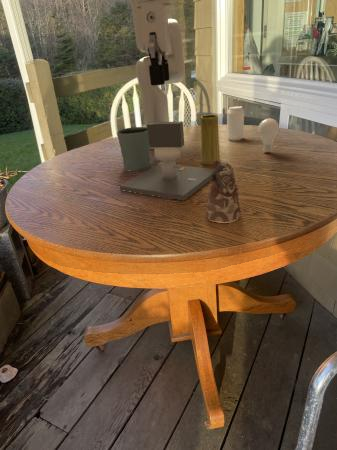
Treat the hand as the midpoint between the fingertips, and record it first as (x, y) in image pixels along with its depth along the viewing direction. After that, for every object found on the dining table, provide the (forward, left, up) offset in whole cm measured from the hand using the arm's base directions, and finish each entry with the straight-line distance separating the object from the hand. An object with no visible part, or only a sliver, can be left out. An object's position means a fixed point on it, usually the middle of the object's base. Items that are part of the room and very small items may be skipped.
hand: (160, 82), depth 78 cm
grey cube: (0, +1, -19) cm, 19 cm away
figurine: (+22, -14, -26) cm, 37 cm away
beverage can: (0, +49, -26) cm, 55 cm away
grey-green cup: (-18, +9, -26) cm, 33 cm away
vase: (+3, +20, -26) cm, 33 cm away
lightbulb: (+17, +34, -26) cm, 46 cm away
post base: (0, 0, -26) cm, 26 cm away
